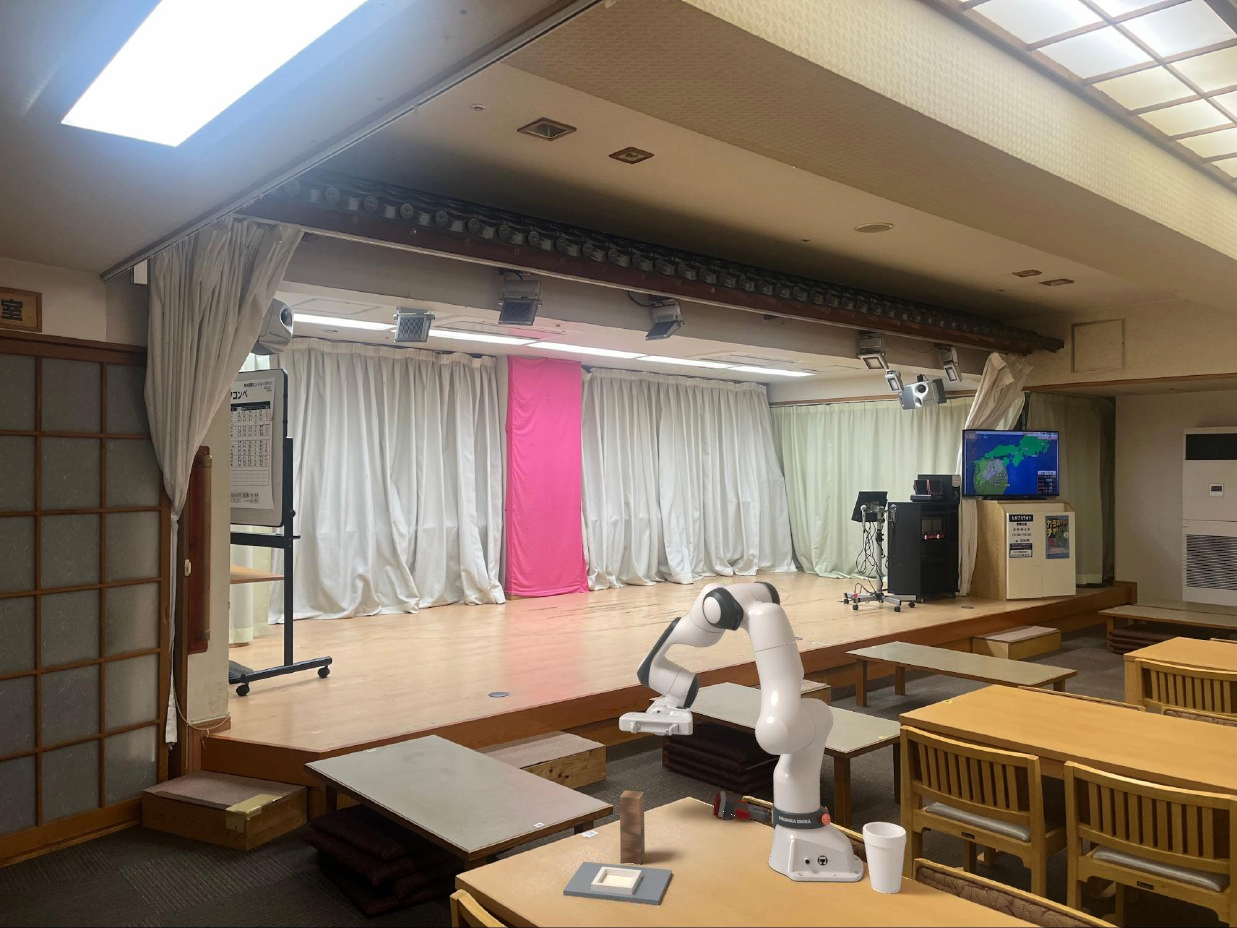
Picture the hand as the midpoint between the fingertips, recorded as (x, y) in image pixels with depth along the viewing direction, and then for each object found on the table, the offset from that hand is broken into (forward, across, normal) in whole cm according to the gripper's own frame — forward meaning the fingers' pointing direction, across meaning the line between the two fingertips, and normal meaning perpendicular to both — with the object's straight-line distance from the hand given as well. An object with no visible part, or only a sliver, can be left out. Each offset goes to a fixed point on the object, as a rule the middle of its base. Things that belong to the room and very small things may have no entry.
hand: (650, 731), depth 228 cm
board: (+29, -2, +28) cm, 40 cm away
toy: (-20, +21, +28) cm, 41 cm away
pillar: (+15, -2, +28) cm, 32 cm away
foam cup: (+17, +58, +28) cm, 67 cm away
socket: (+31, -2, +28) cm, 42 cm away
